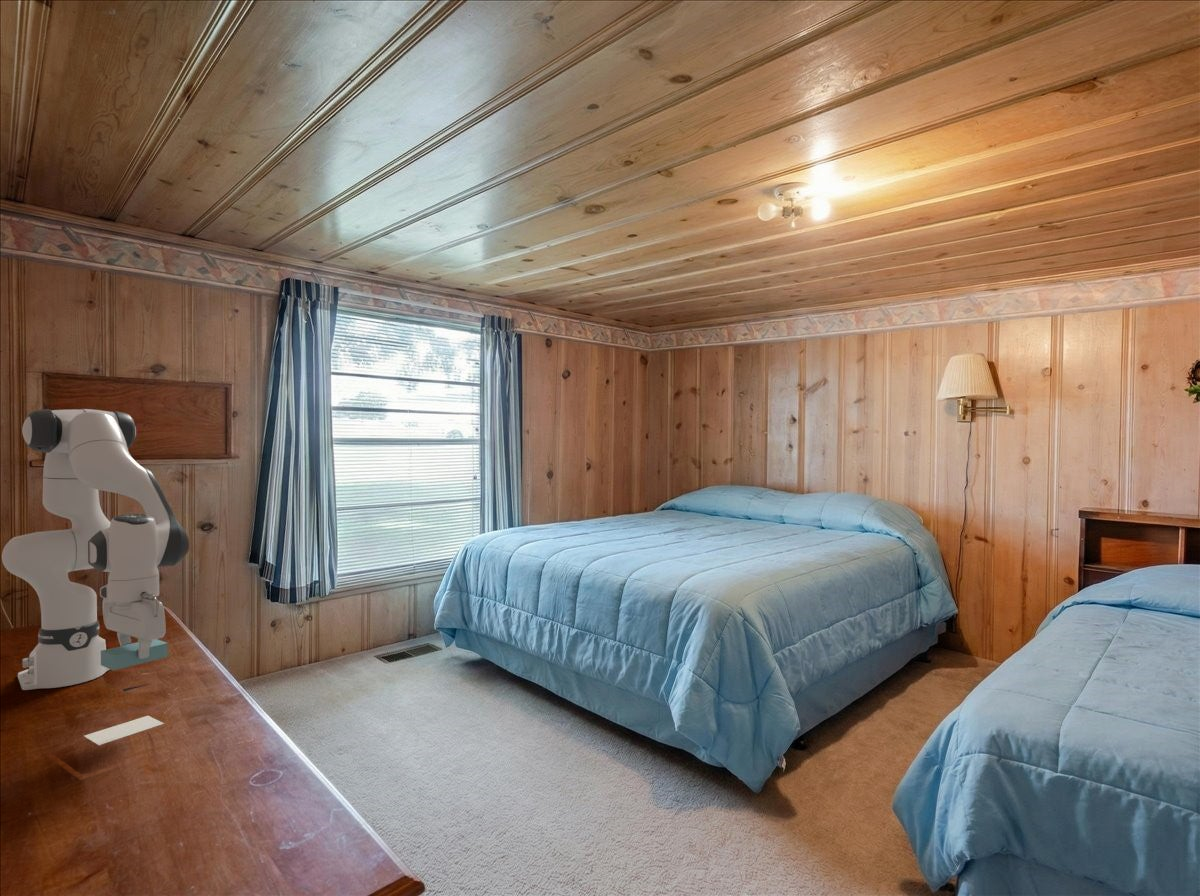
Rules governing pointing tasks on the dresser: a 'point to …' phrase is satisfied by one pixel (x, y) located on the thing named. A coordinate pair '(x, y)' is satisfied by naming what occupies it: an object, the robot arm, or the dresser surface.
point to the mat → (123, 730)
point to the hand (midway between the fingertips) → (134, 654)
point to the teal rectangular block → (132, 655)
